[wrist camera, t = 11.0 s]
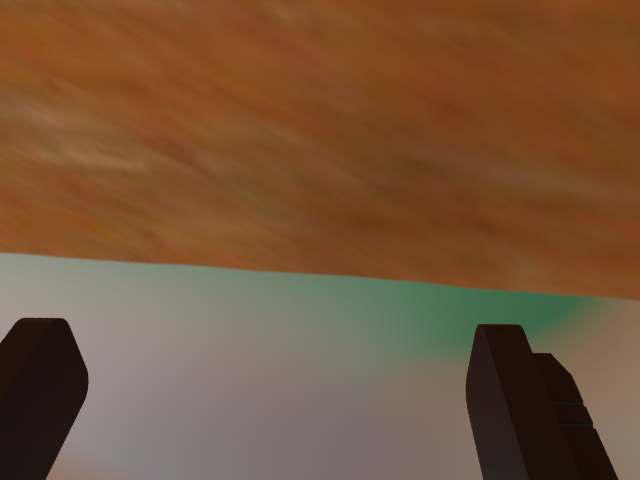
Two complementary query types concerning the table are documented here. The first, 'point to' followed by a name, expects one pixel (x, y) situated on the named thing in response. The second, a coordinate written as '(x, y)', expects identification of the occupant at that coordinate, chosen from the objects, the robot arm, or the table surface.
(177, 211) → the table surface
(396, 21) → the table surface
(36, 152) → the table surface
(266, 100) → the table surface
